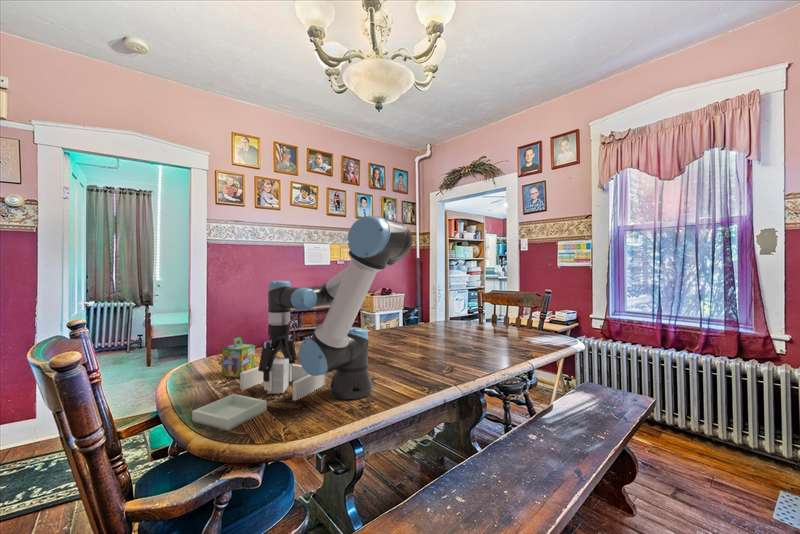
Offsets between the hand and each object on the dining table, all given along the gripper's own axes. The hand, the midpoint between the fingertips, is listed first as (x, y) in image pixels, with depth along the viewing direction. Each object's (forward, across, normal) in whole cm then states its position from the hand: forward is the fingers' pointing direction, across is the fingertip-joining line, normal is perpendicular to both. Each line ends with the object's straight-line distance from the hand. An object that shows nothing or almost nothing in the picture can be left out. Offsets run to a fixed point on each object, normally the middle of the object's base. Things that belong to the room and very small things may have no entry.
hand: (278, 385), depth 120 cm
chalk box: (+2, -7, -27) cm, 28 cm away
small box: (+2, 0, 0) cm, 2 cm away
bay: (+2, -3, 0) cm, 3 cm away
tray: (+2, +22, +2) cm, 22 cm away
